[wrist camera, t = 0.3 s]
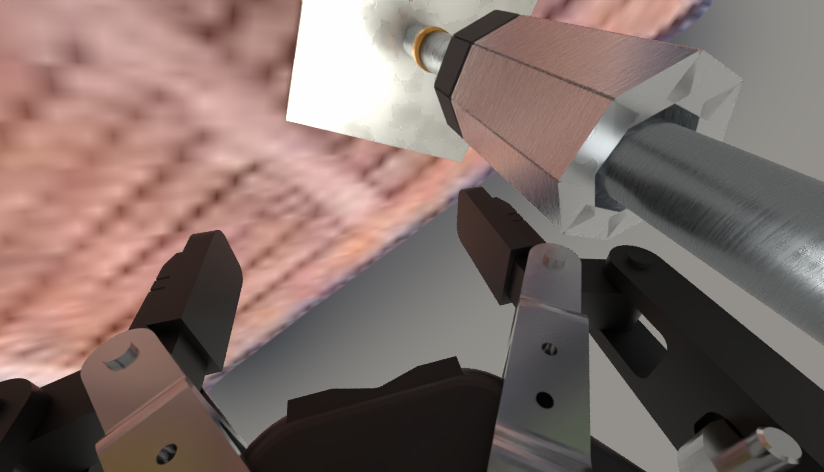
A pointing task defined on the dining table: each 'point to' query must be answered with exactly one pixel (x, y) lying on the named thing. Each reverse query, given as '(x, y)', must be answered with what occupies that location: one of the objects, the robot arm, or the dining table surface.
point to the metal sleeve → (579, 110)
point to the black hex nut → (463, 59)
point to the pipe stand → (617, 177)
